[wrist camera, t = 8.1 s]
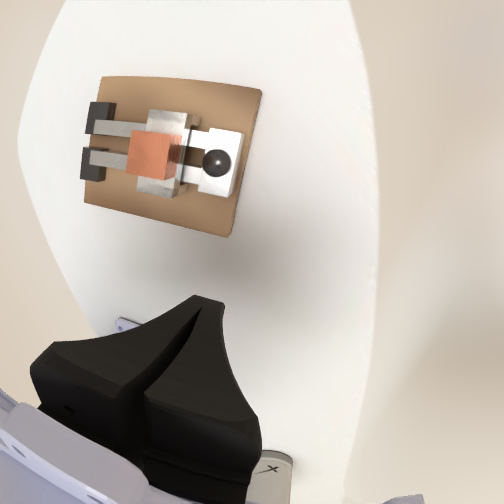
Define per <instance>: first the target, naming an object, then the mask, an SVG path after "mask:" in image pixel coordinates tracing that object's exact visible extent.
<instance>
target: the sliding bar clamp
mask: <svg viewBox="0 0 504 504" xmlns="http://www.w3.org/2000/svg"><path fill="white" fill-rule="evenodd" d="M116 105H117V103H111V102H90V107H89V112H88V118H87V124H86V131H85V134H93V135H113V136H122V137H131V132H132V130H142V131H145V130H146V125H147V124H144V123H134V122H124V121H114V116H115V110H116ZM245 138H246V135H245V134H241V133H236V132H231V131H225V130H220V129H214V128H210V131H209V133H208V132H202V131H196V130H190V131H189V136H188V141H187V146H191V147H197V148H203V149H206V151H205V155H204V157H203V160H202V165H197V164H192V163H187V162H183V168H182V174H181V180H180V181H184V182H189V183H194V184H198V185H199V187H198V191H199V192H204V193H208V194H213V195H217V196H221V197H226V198H227V197H229V196H230V195H231V194H232V193H234V188H235V184H236V179H237V174H238V170H239V165H240V161H241V156H242V152H243V147H244V143H245ZM127 157H128V153H127V152H120V151H113V150H109V149H108V148H100V147H92V146H90V147H83V153H82V162H81V173H80V179H84V180H89V181H94V182H101V181H104V180H105V179H106V170H107V167H110V168H115V169H121V170H126V165H127Z"/></svg>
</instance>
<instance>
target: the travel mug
mask: <svg viewBox="0 0 504 504" xmlns="http://www.w3.org/2000/svg"><path fill="white" fill-rule="evenodd" d="M292 463H293V462H292V460H291V458H290V457H288V456H287V455H285V454H283V453H279V452H275V451H262V455H261V458H260V460H259V462H258V464H257V465H256V467H255V469H254V470H253V472H252V476H251V482H250V484H249V485H248V490H247V496H246V501H251V502H257V503H264V504H290V492H291V478H292Z"/></svg>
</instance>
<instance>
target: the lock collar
mask: <svg viewBox="0 0 504 504" xmlns="http://www.w3.org/2000/svg"><path fill="white" fill-rule="evenodd" d="M200 119H201V117H198V116H194V115H191V114H187V113H179V112H171V111H162V110H152V109H150V110H149V114H148V119H147V125H146V130H145V131H142V130H132V132H131V138H130V144H129V151H128V157H127V165H126V172H125V173H127V174H132V175H138V182H137V190H136V191H138V192H142V193H147V194H152V195H156V196H161V197H165V198H170V199H173V198H175V197H177V196H179V195H181V194H183V193H185V192H187V186H188V183H185V182H181V181H180V180H181V174H182V168H183V162H184V157H185V152H186V146H187V141H188V136H189V131H190V126H191V125H194V126H199V124H200Z"/></svg>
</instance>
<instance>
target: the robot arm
mask: <svg viewBox="0 0 504 504" xmlns="http://www.w3.org/2000/svg"><path fill="white" fill-rule="evenodd" d="M224 309H225V305H224V303H222V302H219V301H215V300H211V299H208V298H204V297H201V296H197V295H193V296H191V297H190V298H188V299H187V300H185V301H184V302H182V303H181V304H179V305H177V306H176V307H174V308H173V309H171V310H169V311H167V312H166V313H164V314H162V315H161V316H159V317H157V318H155V319H153V320H151V321H149V322H147V323H145V324H142V325H138V324H135V323H133V322H130V321H127V320H124V319H122V318H119V319H118V320H117V321H116V334H112V335H108V336H104V337H99V338H94V339H87V340H79V341H62V342H53V343H52V344H51V345H50V346H49V347H48V348H47V349H46V350H45V351H44V352H43V353H42V354H41V355H40V356H39V357H38V358H37V359H36V360H35V361H34V362H33V363H32V364H31V366H30V375H31V379H32V382H33V384H34V387H35V389H36V392H37V394H38V396H39V399H40V401H41V405H40V406H39V407H38V408H35V407H33V406H31V405H29V404H27V403H23V402H22V403H18V402H17V401H15V400H14V399H13V398H11V397H10V396H9V395H7V394H6V393H5V392H4V391H3V390H1V389H0V504H264V503H257V502H251V501H246V496H247V490H248V485H249V484H250V482H251V476H252V472H253V470H254V469H255V467H256V465H257V464H258V462H259V460H260V458H261V455H262V438H261V431H260V426H259V421H258V417H257V416H256V414H255V413H254V411H253V410H252V408H251V407H250V405H249V404H248V402H247V401H246V399H245V397H244V395H243V394H242V392H241V390H240V388H239V386H238V384H237V381H236V379H235V377H234V375H233V372H232V369H231V367H230V364H229V360H228V357H227V353H226V349H225V343H224V337H223V326H222V319H223V314H224ZM121 327H122V328H121ZM383 504H424V499H423V495H422V494H418V495H411V496H404V497H396V498H393V499H390V500H388V501H386V502H384V503H383Z"/></svg>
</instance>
